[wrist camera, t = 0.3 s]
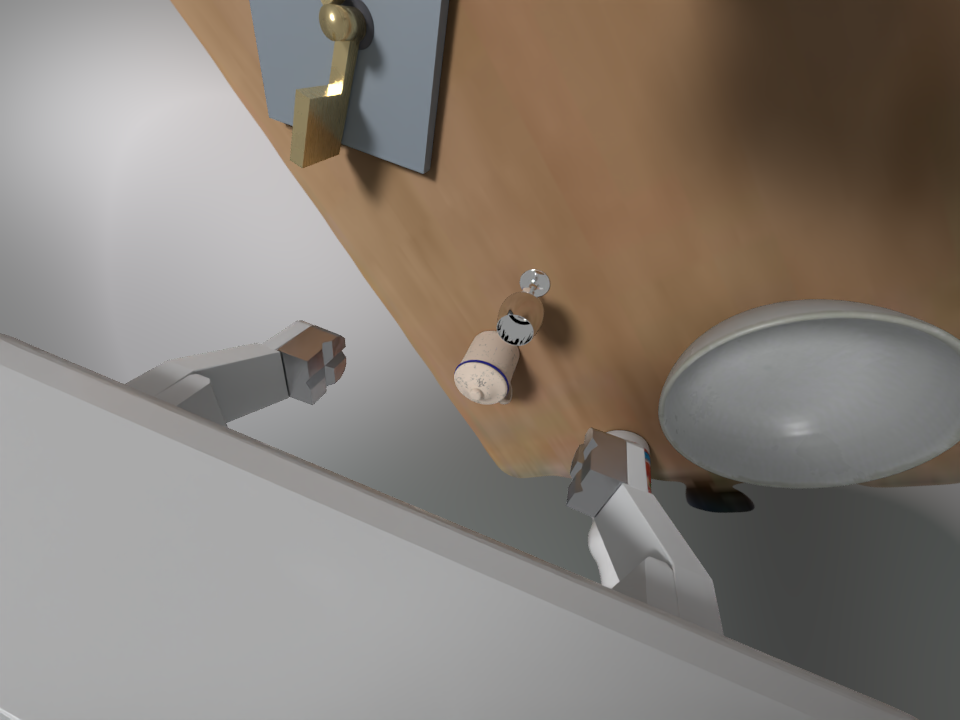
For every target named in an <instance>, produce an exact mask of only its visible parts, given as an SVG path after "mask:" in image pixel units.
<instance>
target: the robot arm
mask: <svg viewBox="0 0 960 720" xmlns="http://www.w3.org/2000/svg"><path fill="white" fill-rule="evenodd" d="M345 347H346V346H345V338H344V337H342V336H341V335H338V334H336V333H333V332H331V331H328V330H326V329H323V328H320V327H318V326H314V325H312V324H310V323H307V322H304V321H296V322H294V323H293V324H291V325H290V326H288V327H287V328H285V329H284V330H282V331H281V332H279V333H278V334H276V335H275V336H273V337H272V338H270V339H269V340H267V341H265V342H264V343H263V344H258V343H254V344H249V345H243V346H238V347H233V348H228V349H223V350H218V351H213V352H208V353H202V354H197V355H193V356H187V357H182V358H177V359H171V360H167V361H165V362H164V363H162V364H160V365H158V366H156V367H155V368H153V369H151V370H149V371H147V372H146V373H144V374H142V375H141V376H138V377H137V378H135V379H133V380H131V381H130V382H128V383H126V384H122V383H120V382H117V381H115V380H113V379H110V378H108V377H106V376H103V375H101V374H98V373H96V372H94V371H91V370H89V369H86V368H84V367H82V366H79V365H77V364H75V363H72V362H70V361H67V360H65V359H63V358H60V357H58V356H55V355H53V354H51V353H48V352H46V351H44V350H41V349H39V348H37V347H34V346H32V345H30V344H27V343H25V342H23V341H20V340H18V339H16V338H14V337H11V336H8V335H5V334H1V333H0V720H918V719H916V718H915V717H913V716H911V715H909V714H907V713H905V712H903V711H900V710H898V709H896V708H894V707H892V706H889V705H887V704H885V703H882V702H880V701H877V700H875V699H873V698H870V697H868V696H865V695H863V694H861V693H858V692H856V691H853V690H851V689H849V688H846V687H844V686H842V685H839V684H837V683H834V682H832V681H830V680H827V679H825V678H822V677H820V676H818V675H815V674H813V673H810V672H808V671H805V670H803V669H801V668H798V667H796V666H794V665H791V664H789V663H786V662H784V661H782V660H779V659H777V658H774V657H772V656H770V655H768V654H765V653H763V652H760V651H758V650H755V649H753V648H751V647H748V646H746V645H744V644H741V643H739V642H737V641H734V640H732V639H729V638H727V637H725V636H724V635H723V630H722V625H721V620H720V615H719V610H718V605H717V601H716V595H715V591H714V586H713V581H712V579H711V578H710V576H709V575H708V574H707V572H706V571H705V569H704V567H703V566H702V565H701V563H700V562H699V560H698V559H697V557H696V556H695V555H694V553H693V551H692V550H691V549H690V547H689V546H688V544H687V543H686V541H685V540H684V538H683V537H682V536H681V534H680V533H679V531H678V530H677V528H676V527H675V525H674V524H673V522H672V521H671V519H670V518H669V517H668V515H667V514H666V512H665V511H664V509H663V508H662V506H661V505H660V503H659V502H658V501H657V499H656V498H655V496H654V495H653V494H651V493H648V485H647V475H646V464H645V453H644V447H643V446H642V445H640V444H637V443H634V442H632V441H629V440H626V439H622V438H620V437H617V436H614V435H611V434H608V433H606V432H603V431H600V430H597V429H594V428H592V427H591V428H590V429H589V430H588V432H587V433H586V435H585V441H584V444H581V445H579V447H578V449H577V450H576V452H575V455H574V458H573V460H572V465H571V470H570V475H571V477H572V479H573V480H572V482H571V483H570V485H569V487H568V494H567V503H566V506H567V507H570V508H572V509H574V510H577V511H579V512H581V513H584V514H586V515H589V516H591V517H593V518H594V521H595V523H596V526H597V528H598V531H599V533H600V535H601V538H602V540H603V543H604V545H605V548H606V550H607V552H608V555H609V557H610V560H611V562H612V565H613V567H614V569H615V572H616V574H617V577H618V579H619V581H620V582H618V583H617V584H616V585H615V586H614V587H613V588H612V589H610V588H608V587H606V586H603V585H601V584H598V583H596V582H594V581H591V580H589V579H587V578H584V577H582V576H579V575H577V574H575V573H572V572H570V571H567V570H565V569H563V568H560V567H558V566H556V565H553V564H551V563H548V562H546V561H544V560H541V559H539V558H537V557H534V556H532V555H529V554H527V553H525V552H522V551H520V550H517V549H515V548H513V547H510V546H508V545H505V544H503V543H501V542H498V541H496V540H494V539H491V538H489V537H487V536H484V535H482V534H479V533H477V532H474V531H472V530H470V529H467V528H465V527H463V526H460V525H458V524H456V523H453V522H451V521H448V520H446V519H444V518H441V517H439V516H436V515H434V514H432V513H429V512H427V511H424V510H422V509H420V508H417V507H415V506H412V505H410V504H408V503H405V502H403V501H401V500H398V499H395V498H393V497H391V496H389V495H386V494H384V493H381V492H379V491H377V490H374V489H372V488H370V487H367V486H365V485H363V484H360V483H358V482H355V481H353V480H350V479H348V478H346V477H343V476H341V475H339V474H336V473H334V472H332V471H329V470H327V469H324V468H322V467H320V466H317V465H315V464H313V463H310V462H308V461H305V460H303V459H301V458H298V457H296V456H294V455H291V454H289V453H287V452H284V451H282V450H279V449H277V448H275V447H272V446H270V445H267V444H265V443H263V442H260V441H258V440H256V439H253V438H251V437H248V436H246V435H244V434H241V433H239V432H237V431H234V430H232V429H229V428H228V427H227V424H226V423H227V422H230V421H232V420H235V419H237V418H240V417H242V416H245V415H247V414H249V413H252V412H255V411H257V410H260V409H262V408H265V407H267V406H270V405H272V404H274V403H277V402H279V401H282V400H284V399H287V398H288V397H292V398H295V399H297V400H300V401H303V402H306V403H308V404H311V405H313V404H315V402H316V401H318V400H319V399H320V398H321V397H322V396H323V395H324V394H325V393H326V386H328V385H332V384H335V383H336V382H337V381H338V380H339V379H340V378H341V376H342V374H343V372H344V370H345V367H346V357H345V355H344V354H343V352H342V350H343V349H344V348H345Z"/></svg>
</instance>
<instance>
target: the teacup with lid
mask: <svg viewBox="0 0 960 720" xmlns="http://www.w3.org/2000/svg"><path fill="white" fill-rule="evenodd" d="M518 360H519V349H518V347H517V346H515V345H511V344H508V343H507V342H505V341H504V340H502V339H501V337H500V336H499V335H498V332H497V331H485V332H482V333H480V334H478V335H477V336H476V337H475V338H474V340H473V342H472V344H471V345H470V347H469V349H468V351H467V353H466V355H465V356H464V358H463V360H462V362H461V364H459V365H458V366H457V368H456V370H455V374H454V380H455V384H456V386H457V388H458V389H459V391H460V392H461V393H462V394H463V395H464V396H465V397H467V398H468V399H470V400H472V401H474V402H477V403H480V404H495V403H498V402H500V403H501V404H508V403H509V402H510V401H511V399H512V386H511V379H512V376H513V374H514V371H515V368H516V365H517V363H518Z"/></svg>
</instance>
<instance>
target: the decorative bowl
mask: <svg viewBox="0 0 960 720" xmlns="http://www.w3.org/2000/svg"><path fill="white" fill-rule="evenodd" d="M658 414H659V421H660V425H661V428H662V431H663V433H664V435H665V436H666V438H667V439H668V441H669V442H670V443H671V445H672V446H673V447H674V448H675V449H676V450H677V451H678V452H679V453H680V454H681V455H683V456H684V457H685V458H687V459H688V460H689V461H691V462H692V463H694V464H696V465H698V466H699V467H701V468H703V469H705V470H708V471H710V472H712V473H715V474H717V475H720V476H723V477H726V478H729V479H733V480H736V481H740V482H745V483H750V484H756V485H761V486H769V487H779V488H825V487H835V486H844V485H851V484H857V483H863V482H867V481H872V480H876V479H880V478H884V477H887V476H891V475H894V474H897V473H900V472H903V471H906V470H908V469H911V468H913V467H916V466H918V465H920V464H922V463H925V462H927V461H929V460H931V459H933V458H934V457H936V456H938V455H940V454H941V453H943V452H945V451H946V450H948V449H949V448H951V447H952V446H953V445H955V444H956V443H957V442H959V441H960V340H959V339H957V338H956V337H954V336H953V335H951V334H949V333H948V332H946V331H944V330H942V329H940V328H938V327H936V326H934V325H932V324H930V323H927V322H925V321H922V320H920V319H917V318H915V317H912V316H909V315H906V314H903V313H900V312H897V311H894V310H890V309H887V308H882V307H878V306H874V305H870V304H864V303H858V302H851V301H842V300H828V299H807V300H793V301H785V302H779V303H773V304H769V305H764V306H760V307H757V308H753V309H750V310H747V311H745V312H742V313H739V314H737V315H735V316H732V317H730V318H728V319H726V320H724V321H722V322H720V323H719V324H717V325H715V326H714V327H712V328H711V329H709V330H708V331H706V332H705V333H704V334H702V335H701V336H700V337H699V338H697V339H696V340H695V341H694V342H693V343H692V344H691V345H690V346H689V347H688V348H687V349H686V350H685V351H684V352H683V354H682V355H681V356H680V357H679V359H678V360H677V362H676V363H675V365H674V366H673V368H672V370H671V371H670V373H669V375H668V377H667V379H666V381H665V384H664V386H663V389H662V392H661V396H660V400H659V408H658Z"/></svg>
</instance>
